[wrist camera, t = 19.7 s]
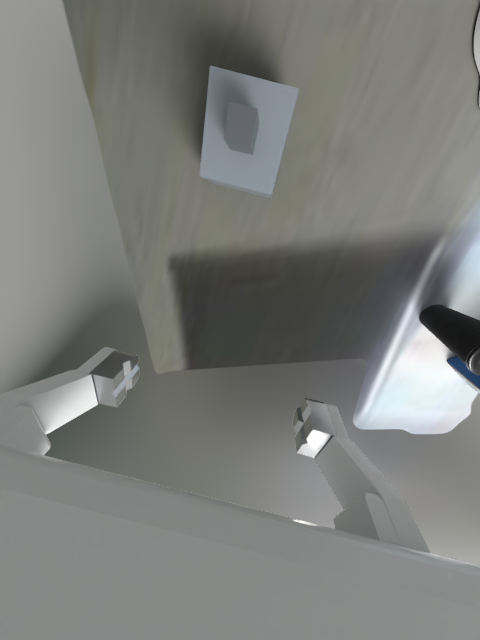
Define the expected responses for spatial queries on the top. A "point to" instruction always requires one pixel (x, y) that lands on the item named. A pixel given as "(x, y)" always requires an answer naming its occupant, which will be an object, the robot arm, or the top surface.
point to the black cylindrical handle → (455, 333)
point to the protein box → (465, 372)
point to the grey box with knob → (245, 131)
